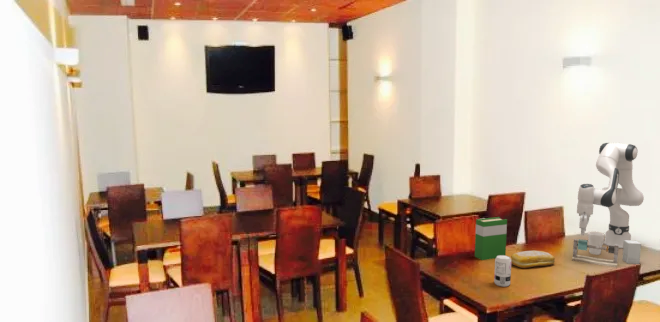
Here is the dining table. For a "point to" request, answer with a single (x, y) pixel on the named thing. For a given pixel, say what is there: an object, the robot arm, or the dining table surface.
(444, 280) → the dining table surface
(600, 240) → the foam cup
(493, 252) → the green cereal box
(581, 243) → the sleeve
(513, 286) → the dining table surface
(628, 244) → the supplement box
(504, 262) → the supplement can
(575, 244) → the rail stand
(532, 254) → the bread
